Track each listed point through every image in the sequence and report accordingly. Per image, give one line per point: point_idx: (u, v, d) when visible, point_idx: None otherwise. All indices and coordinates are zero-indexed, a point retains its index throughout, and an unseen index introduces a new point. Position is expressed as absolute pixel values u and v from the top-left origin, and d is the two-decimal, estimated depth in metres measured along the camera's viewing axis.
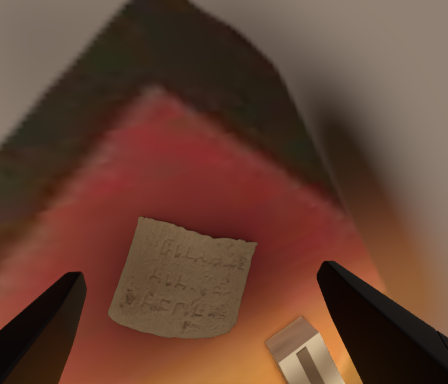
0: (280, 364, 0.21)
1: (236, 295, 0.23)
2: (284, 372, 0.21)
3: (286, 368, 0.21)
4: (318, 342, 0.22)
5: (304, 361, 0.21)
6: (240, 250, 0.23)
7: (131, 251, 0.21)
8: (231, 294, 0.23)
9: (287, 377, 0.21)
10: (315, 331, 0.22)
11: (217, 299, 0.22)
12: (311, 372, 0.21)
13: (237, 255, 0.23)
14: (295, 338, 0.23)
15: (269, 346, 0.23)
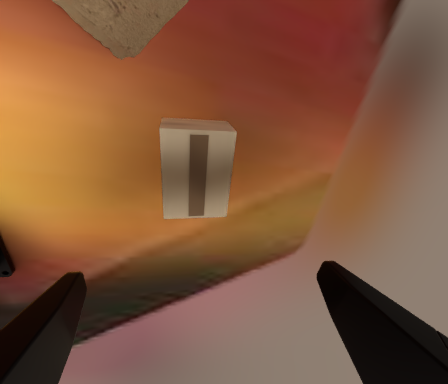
0: (161, 132, 0.14)
1: (156, 2, 0.13)
2: (162, 145, 0.14)
3: (167, 143, 0.14)
4: (227, 143, 0.15)
5: (195, 150, 0.15)
6: None
7: None
8: None
9: (162, 154, 0.15)
10: (232, 130, 0.15)
11: None
12: (197, 169, 0.15)
13: None
14: (201, 126, 0.15)
15: (163, 120, 0.16)
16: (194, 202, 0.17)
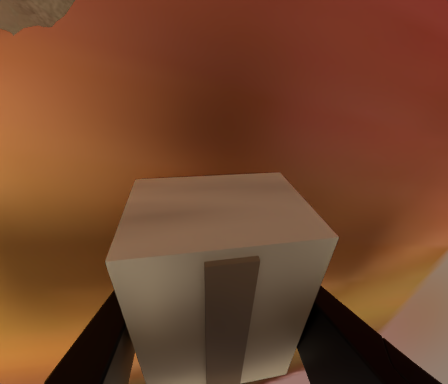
0: (114, 269, 0.04)
1: None
2: (123, 297, 0.05)
3: (138, 289, 0.05)
4: (308, 264, 0.05)
5: (222, 296, 0.05)
6: None
7: None
8: None
9: (129, 313, 0.05)
10: (322, 228, 0.05)
11: None
12: (225, 327, 0.06)
13: None
14: (233, 215, 0.06)
15: (134, 197, 0.06)
16: (219, 374, 0.07)
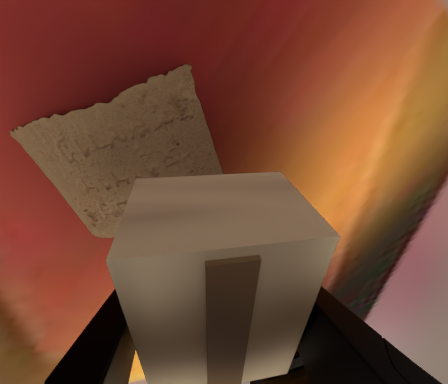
0: (115, 268, 0.04)
1: (203, 152, 0.17)
2: (124, 296, 0.05)
3: (138, 289, 0.05)
4: (309, 263, 0.05)
5: (223, 295, 0.05)
6: (164, 93, 0.14)
7: (48, 175, 0.16)
8: (195, 155, 0.17)
9: (130, 312, 0.05)
10: (323, 227, 0.05)
11: (179, 170, 0.16)
12: (226, 326, 0.06)
13: (166, 102, 0.14)
14: (234, 214, 0.06)
15: (135, 197, 0.06)
16: (220, 373, 0.07)
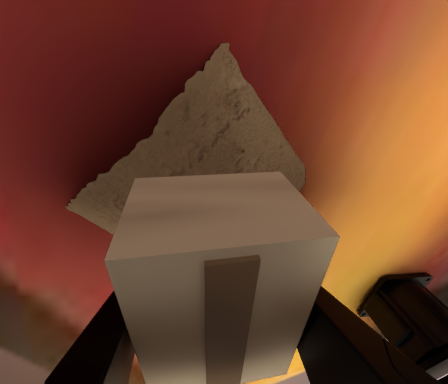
0: (114, 268, 0.04)
1: (274, 147, 0.13)
2: (122, 296, 0.05)
3: (137, 289, 0.05)
4: (309, 264, 0.05)
5: (222, 295, 0.05)
6: (209, 94, 0.10)
7: None
8: (266, 155, 0.13)
9: (129, 312, 0.05)
10: (323, 227, 0.05)
11: None
12: (225, 327, 0.06)
13: (214, 105, 0.11)
14: (233, 214, 0.06)
15: (134, 196, 0.06)
16: (219, 374, 0.07)
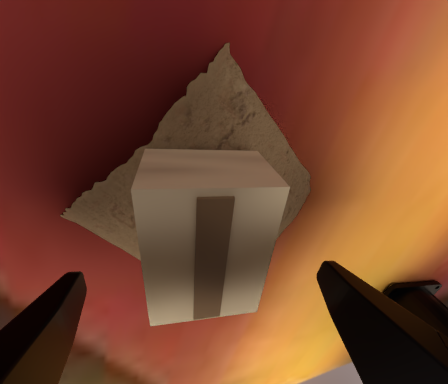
0: (136, 196, 0.07)
1: (280, 153, 0.12)
2: (139, 220, 0.07)
3: (149, 215, 0.07)
4: (270, 207, 0.08)
5: (208, 225, 0.07)
6: (212, 97, 0.10)
7: (115, 245, 0.14)
8: (271, 161, 0.12)
9: (142, 235, 0.07)
10: (280, 182, 0.08)
11: None
12: (209, 254, 0.08)
13: (218, 109, 0.10)
14: (218, 172, 0.08)
15: (145, 159, 0.08)
16: (204, 301, 0.09)
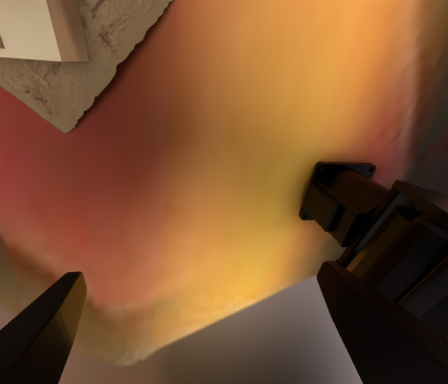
0: None
1: None
2: None
3: None
4: None
5: None
6: None
7: None
8: None
9: None
10: None
11: None
12: None
13: None
14: None
15: None
16: None
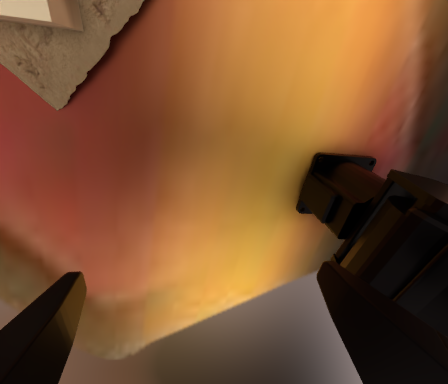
0: None
1: None
2: None
3: None
4: None
5: None
6: None
7: None
8: None
9: None
10: None
11: None
12: None
13: None
14: None
15: None
16: None
